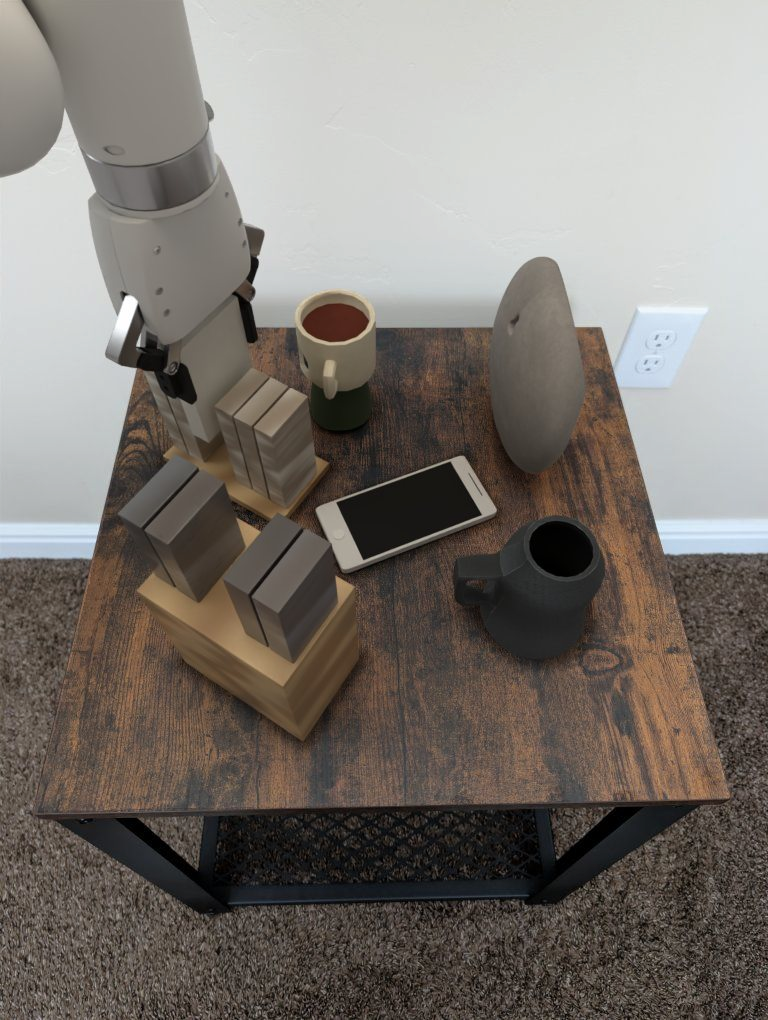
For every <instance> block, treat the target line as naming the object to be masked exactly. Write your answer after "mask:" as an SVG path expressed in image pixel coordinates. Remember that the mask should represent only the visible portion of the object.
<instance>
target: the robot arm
mask: <svg viewBox="0 0 768 1020" xmlns="http://www.w3.org/2000/svg"><path fill="white" fill-rule="evenodd" d="M201 84H202V83H201V80H200V75H199V70H198V66H197V61H196V57H195V51H194V46H193V42H192V37H191V33H190V27H189V22H188V19H187V13H186V8H185V3H184V0H0V179H3V178H6V177H10V176H13V175H17V174H20V173H22V172H25V171H27V170H28V169H30V168H32V167H35V166H36V164H38V163H39V162H41V161H42V160H43V159H44V158H45V157H46V156H47V155H48V154H49V152H50V151H51V150H52V148H53V147H54V145H55V144H56V143H57V141H58V138H59V135H60V133H61V131H62V128H63V121H64V116H65V112H66V116H67V118H68V120H69V123H70V126H71V128H72V131H73V134H74V136H75V139H76V141H77V144H78V147H79V150H80V153H81V156H82V159H83V160H84V163H85V166H86V169H87V171H88V174H89V176H90V179H91V182H92V185H93V187H94V189H95V192H94V193H93V194H92V195H91V196H90V197H89V198H88V199H87V206H88V207H87V209H88V217H89V225H90V230H91V236H92V241H93V245H94V249H95V255H96V258H97V261H98V265H99V268H100V271H101V274H102V278H103V282H104V285H105V287H106V291H107V294H108V297H109V299H110V302H111V304H112V307H113V309H114V312H115V314H116V316H117V318H116V320H115V323H114V326H113V329H112V331H111V334H110V337H109V339H108V342H107V346H106V348H105V350H104V351H105V352H104V354H105V355H104V356H105V358H106V359H108V360H110V361H111V362H113V363H115V364H117V365H119V366H120V367H126V368H131V369H139V370H142V371H143V370H144V371H151V372H154V374H155V376H156V379H157V381H158V384H159V386H160V389H161V390H162V391H163V392H164V393H165V394H166V395H167V396H169V397H171V398H173V399H176V398H177V397H178V398H179V399H181V400H183V401H185V402H187V403H189V404H191V405H193V404H194V403H195V402H196V401H197V394H196V391H195V388H194V385H193V382H192V379H191V376H190V373H189V370H188V368H187V366H186V365H184V364H183V363H180V354H181V344H182V338H183V337H184V336H186V335H187V334H188V333H189V332H190V331H192V330H193V329H194V328H195V327H196V326H197V325H198V324H199V323H201V322H202V321H203V320H204V319H205V318H206V317H207V316H208V315H209V314H210V313H211V312H213V311H214V310H215V309H216V308H217V307H218V306H219V305H220V304H221V303H222V302H223V301H224V300H225V299H226V298H228V297H229V296H230V295H231V294H232V295H234V296H236V297H237V298H238V302H239V307H240V312H241V316H242V321H243V325H244V330H245V335H246V339H247V343H248V344H255V343H256V342H257V341H258V340H259V334H258V329H257V325H256V320H255V314H254V311H253V310H254V309H253V305H252V304H251V302H252V301H253V300H254V299H255V296H256V292H257V291H256V288H255V287H254V286H253V285H254V281H255V278H256V275H257V272H258V270H259V266H260V261H259V258H258V257H259V256H260V254H261V250H262V246H263V243H264V239H265V235H266V232H265V230H264V229H262V228H260V227H258V226H255V225H253V224H251V223H247V222H244V219H243V215H242V211H241V208H240V204H239V201H238V197H237V195H236V192H235V189H234V187H233V183H232V181H231V178H230V176H229V174H228V172H227V169H226V167H225V165H224V162H223V161H222V158H221V157H220V156H219V154H218V153H217V152H216V151H215V147H214V142H213V136H212V132H211V127H210V123H212V122H213V121H214V118H215V112H214V110H213V107H212V106H211V105H210V104H209V102H208V101H206V100H205V98H204V94H203V90H202V89H203V88H202V85H201ZM139 339H140V340H139ZM158 340H159V341H158ZM139 341H140V342H139ZM138 342H139V346H137V345H138ZM160 342H161V343H162V344H164V351H163V350H162V349H161V348H158V343H160ZM144 371H143V372H144Z"/></svg>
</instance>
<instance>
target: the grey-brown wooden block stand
mask: <svg viewBox="0 0 768 1020" xmlns="http://www.w3.org/2000/svg"><path fill="white" fill-rule="evenodd" d="M142 371H143V374H144V376H145V378H146V381H147V383H148V385H149V388H150V391H151V393H152V395H153V398H154V400H155V403H156V406H157V407H158V410H159V412H160V415H161V418H162V420H163V423H164V425H165V427H166V429H167V433H168V435H169V436H170V437H169V438H170V439H171V442H172V446H171V447H170V448H169V449H168V450H167V451H166V452H165V453H164V454H163V456H162V457H163V459H164V461H165V463H167V462H168V461H169V460H170V459H171V458H172V457H173V456H174V455H175V454H176V455H178V456H180V457H182V458H183V459H185V460H187V461H189V462H190V463H192V464H194V465H196V466H197V467H198V468H199V471H200V470H201V469H203V470H204V471H206V472H208V473H210V474H211V475H213V476H215V477H216V478H218V479H220V480H222V481H223V482H225V485H226V488H227V491H228V494H229V497H230V500H231V501H232V502H234V503H236V504H238V505H239V506H241V507H242V508H245V509H246V510H248V511H250V512H251V513H253V514H255V515H257V516H258V517H260V518H262V519H263V520H265V521H267V522H268V523H269V522H270V520H271V519H272V518H273V517H274V516H275V514H276V513H277V512H278V513H280V514H282V515H283V516H285V517H287V518H288V519H290V517H292V515H293V514H294V513H295V511H296V510H297V509H298V508H299V506H300V505H301V504H303V502H304V500H305V499H306V498H307V497H308V495H309V494H311V492H312V491H313V490H314V488H316V486H317V484H318V483H319V482H320V481H321V480H322V478H323V477H324V476H325V475H326V474H327V472H328V471H329V470H330V462H328V461H326V460H324V459H322V458H321V457H319V456H317V455H316V452H315V441H314V435H313V427H312V419H311V412H310V402H309V396H308V395H306V394H304V393H302V392H300V391H298V390H296V389H294V388H292V387H290V388H289V385H287V384H285V383H283V382H281V381H279V380H277V379H275V378H273V377H270V376H269V375H267V374H265V373H264V372H261V371H259V370H257V369H256V368H254V367H253V368H251V369H250V370H249V371H248V372H247V373H246V374H245V375H244V376H243V377H242V378H241V380H240V381H239V382H238V383H237V384H236V385H235V386H234V387H233V388H232V389H231V390H230V391H229V392H228V393H227V394H226V395H225V396H224V397H223V398H222V399H221V400H220V401H219V402H218V403H217V404H216V405H215V406H214V407H215V411H216V414H217V417H218V420H219V424H220V427H221V430H220V431H219V433H218V434H217V435H216V436H215V437H214V438H213V439H212V440H211V441H210V442H209V443H208V442H206V441H204V440H203V439H201V438H199V437H197V436H195V435H194V434H193V433H192V430H191V428H190V425H189V422H188V419H187V417H186V414H185V411H184V409H183V406H182V403H181V400H180V399H179V398H178V397H177V398H176V399H173V398H171V397H169V396H167V395H166V394H165V393H164V392H163V391H162V390H161V389H160V386H159V384H158V381H157V379H156V376H155V374H154V372H151V371H144V370H142Z"/></svg>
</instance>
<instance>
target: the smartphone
mask: <svg viewBox="0 0 768 1020" xmlns="http://www.w3.org/2000/svg"><path fill="white" fill-rule="evenodd" d="M497 511H498V509H497V508H496V505H495V504H494V502H493V501H492V499H491V497H490V495H489V494H488V492H487V491H486V489H485V487H484V486H483V484H482V483H481V481H480V479H479V478H478V476H477V474H476V472H475V471H474V469H473V468H472V466H471V465H470V463H469V461H468V460H467V458H466V456H464V455H457V456H455V457H452V458H449V459H446V460H444V461H441V462H438V463H435V464H433V465H430V466H427V467H425V468H422V469H419V470H416V471H413V472H410V473H408V474H405V475H402V476H399V477H396V478H393V479H390V480H388V481H385V482H383V483H380V484H376V485H374V486H370V487H369V488H366V489H362V490H361V491H360V490H359V491H357V492H355V493H352V494H349V495H345V496H343V497H341V498H337V499H335V500H332V501H329V502H327V503H324V504H321V505H319V506H318V507H316V508H315V514H316V517H317V519H318V521H319V523H320V526H321V528H322V531H323V533H324V536H325V537H326V540H327V541H329V542H330V543H332V550H333V556H334V557H335V559H336V562H337V564H338V566H339V568H340V570H341V573H343V574H351V573H353V572H355V571H358V570H360V569H363V568H366V567H368V566H371V565H373V564H376V563H378V562H381V561H384V560H386V559H389V558H392V557H394V556H397V555H400V554H402V553H404V552H407V551H410V550H412V549H415V548H417V547H420V546H423V545H426V544H428V543H430V542H431V543H432V542H433V541H436V540H438V539H442V538H444V537H447V536H449V535H451V534H454V533H456V532H459V531H463V530H465V529H468V528H470V527H473V526H476V525H478V524H480V523H483V522H486V521H489V520H490V519H493V518H494V517H496V515H497Z"/></svg>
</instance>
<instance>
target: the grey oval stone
mask: <svg viewBox="0 0 768 1020" xmlns="http://www.w3.org/2000/svg"><path fill="white" fill-rule="evenodd" d="M565 285H566V284H565V282H564V278H563V275H562V272H561V268H560V266H559V264H558V262H557V261H556V260H554V259H553V258H551V257H548V256H536V257H533V258H530V259H528V260H527V261H526V262H524V263H523V264H522V265H520V267H519V268H518V269H517V271H516V272H515V274H514V275H513V276H512V278H511V280H510V281H509V283H508V285H507V287H506V288H505V291H504V293H503V294H502V297H501V300H500V303H499V305H498V308H497V311H496V314H495V318H494V321H493V326H492V331H491V338H490V346H489V357H488V380H489V381H488V383H489V384H488V385H489V394H490V402H491V404H490V405H491V411H492V415H493V419H494V424H495V427H496V430H497V433H498V436H499V439H500V442H501V443H502V446H503V448H504V451H505V452H506V454H507V456H508V457H509V458H510V459H511V461H512V463H514V464H515V466H517V467H518V469H520V470H521V471H523V472H525V473H527V474H530V475H539V474H542V473H544V472H545V471H548V469H550V468H551V467H553V465H554V464H555V463H557V462H558V460H559V459H560V457H561V456H562V455H563V453H564V452H565V450H566V448H567V447H568V445H569V443H570V440H571V438H572V437H573V433H574V431H575V429H576V425H577V423H578V419H579V417H580V413H581V410H582V407H583V405H584V401H585V398H586V393H587V386H586V377H585V371H584V365H583V364H584V363H583V359H582V355H581V350H580V343H579V339H578V335H577V330H576V326H575V321H574V316H573V313H572V308H571V304H570V301H569V300H570V299H569V297H568V296H569V295H568V293H567V289H566V286H565Z"/></svg>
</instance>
